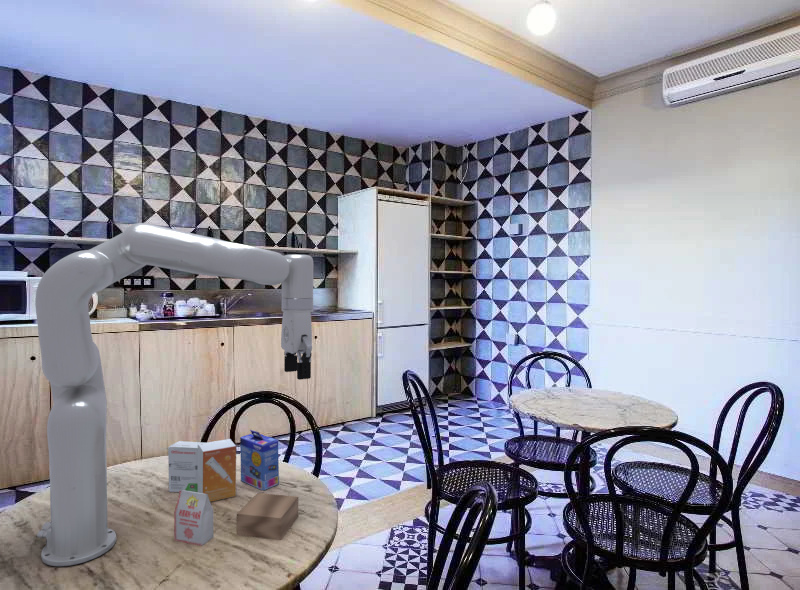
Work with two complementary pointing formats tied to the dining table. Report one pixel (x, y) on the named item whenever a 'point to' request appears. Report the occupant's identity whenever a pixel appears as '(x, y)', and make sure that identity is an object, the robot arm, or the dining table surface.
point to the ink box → (183, 466)
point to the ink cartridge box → (259, 460)
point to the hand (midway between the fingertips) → (297, 375)
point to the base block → (267, 516)
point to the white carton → (193, 518)
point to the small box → (217, 469)
